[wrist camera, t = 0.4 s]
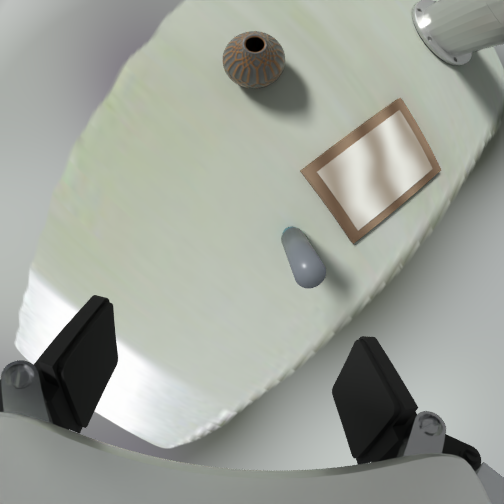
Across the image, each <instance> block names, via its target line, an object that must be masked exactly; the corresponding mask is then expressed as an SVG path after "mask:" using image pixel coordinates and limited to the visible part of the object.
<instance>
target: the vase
mask: <svg viewBox="0 0 504 504" xmlns="http://www.w3.org/2000/svg"><path fill="white" fill-rule="evenodd" d="M284 65H285V54H284V51H283V49H282V47H281V45H280V44H279V42H278V41H277V40H276V39H275V38H273V37H272V36H270V35H268V34H266V33H263V32H257V31H251V32H245V33H242V34H240V35H238V36H236V37H235V38H233V39H232V40H231V41H230V42H229V44H228V45H227V46H226V48H225V51H224V54H223V66H224V69H225V71H226V73H227V75H228V76H229V78H230V79H231V80H232V81H233V82H235V83H236V84H238V85H240V86H243V87H246V88H262V87H265V86H268V85H270V84H271V83H273V82H274V81H275V80H276V79H277V78H278V77H279V76H280V75H281V73H282V71H283V69H284Z"/></svg>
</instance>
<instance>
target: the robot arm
mask: <svg viewBox="0 0 504 504" xmlns="http://www.w3.org/2000/svg"><path fill="white" fill-rule="evenodd" d="M412 15H413V21H414V24H415V27H416V29H417V31H418V33H419V35H420V37H421V38H422V39H423V41H424V42H425V44H426V45H427V46H428V47H429V48H430V50H432V51H433V52H434V53H435V54H436V55H437V56H438V57H439V58H441V59H442V60H444V61H445V62H447V63H450V64H452V65H463V64H466V63H467V62H469V60H470V59H471V56H472V52H474V51H478V50H482V49H485V48H489V47H493V46H497V45H502V44H504V0H439V1H434V0H421V1H419V2H417V3H416V4H415V5H414V7H413V11H412ZM117 362H118V353H117V345H116V335H115V325H114V312H113V304H112V303H109V299H108V298H105V297H101V296H97V295H94V296H92V297H91V298H90V300H89V301H88V302H87V303H86V304H85V305H84V306H83V307H82V308H81V309H80V311H79V312H78V313H77V314H76V315H75V316H74V317H73V318H72V320H71V321H70V322H69V323H68V324H67V325H66V326H65V327H64V328H63V330H62V331H61V332H60V333H59V334H58V336H57V337H56V338H55V339H54V340H53V342H52V343H51V344H50V345H49V346H48V348H47V349H46V350H45V351H44V353H43V354H42V355H41V356H40V358H39V359H38V360H37V361H36V363H35V364H34V365H33V364H32V363H30V362H27V361H23V360H19V361H14V362H12V363H10V364H8V365H7V366H6V367H5V368H4V369H3V371H2V374H1V379H0V504H504V477H502V476H501V475H500V474H498V473H497V472H496V471H495V470H493V469H492V468H491V467H489V466H488V465H487V464H486V463H484V462H483V463H482V464H481V457H480V454H479V452H478V451H477V450H476V449H475V448H474V447H472V446H470V445H468V444H466V443H463V442H461V441H459V440H457V439H455V438H453V437H450V436H448V435H446V434H445V433H446V426H445V423H444V421H443V420H442V419H441V418H440V417H439V416H438V415H437V414H435V413H433V412H428V411H424V412H420V413H419V414H418V415H417V414H416V412H415V411H416V410H417V408H418V407H417V405H416V403H415V401H414V399H413V398H412V396H411V394H410V393H409V391H408V389H407V388H406V386H405V384H404V383H403V381H402V380H401V378H400V376H399V374H398V373H397V371H396V369H395V368H394V366H393V364H392V363H391V361H390V360H389V358H388V356H387V355H386V353H385V352H384V350H383V349H382V347H381V345H380V344H379V342H378V341H377V339H376V338H375V337H364V336H363V337H360V338H359V340H356V341H355V343H354V345H353V347H352V349H351V352H350V354H349V356H348V358H347V360H346V362H345V364H344V366H343V368H342V370H341V372H340V374H339V376H338V378H337V380H336V382H335V384H334V386H333V389H332V394H333V398H334V401H335V404H336V407H337V410H338V413H339V416H340V419H341V422H342V425H343V428H344V431H345V435H346V438H347V441H348V444H349V447H350V450H351V454H352V456H353V458H356V460H357V463H358V465H353V466H345V467H337V468H327V469H315V470H293V471H261V470H240V469H228V468H218V467H209V466H202V465H195V464H188V463H182V462H177V461H171V460H166V459H162V458H157V457H153V456H149V455H144V454H140V453H137V452H133V451H129V450H126V449H122V448H119V447H116V446H112V445H109V444H106V443H103V442H100V441H97V440H94V439H91V438H88V437H86V436H83V435H80V434H78V433H80V431H81V429H82V427H85V428H86V427H87V425H88V423H89V421H90V419H91V417H92V415H93V413H94V410H95V408H96V406H97V404H98V402H99V400H100V398H101V396H102V393H103V391H104V389H105V387H106V385H107V383H108V381H109V379H110V377H111V375H112V373H113V371H114V369H115V367H116V365H117ZM69 429H70V430H73V431H75V432H77V433H75V432H72V431H70V430H69ZM370 462H371V463H370ZM359 464H360V465H359Z"/></svg>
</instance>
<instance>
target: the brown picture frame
mask: <svg viewBox="0 0 504 504" xmlns="http://www.w3.org/2000/svg"><path fill="white" fill-rule="evenodd" d="M440 171H441V168H440V166H439V164H438V162H437V160H436V158H435V156H434V154H433V152H432V150H431V148H430V146H429V144H428V143H427V141H426V139H425V137H424V135H423V133H422V132H421V130H420V128H419V126H418V125H417V123H416V121H415V120H414V118H413V116H412V115H411V113H410V111H409V110H408V108H407V107H406V105H405V103H404V102H403V100H402V99H401V98H399V99H397V100H395V101H394V102H392V103H391V104H390V105H388V106H387V107H385V108H384V109H383V110H381V111H380V112H378V113H377V114H376V115H374V116H373V117H371V118H370V119H369V120H367V121H366V122H365V123H363V124H362V125H360V126H359V127H358V128H356V129H355V130H354V131H352V132H351V133H350V134H348V135H347V136H345V137H344V138H343V139H341V140H340V141H339V142H337V143H336V144H335V145H333V146H332V147H331V148H329V149H328V150H327V151H325V152H324V153H323V154H322V155H320V156H319V157H318V158H316V159H315V160H314V161H312V162H311V163H310V164H308V165H307V166H306V167H305V168H303V169H302V170H301V171H300V172H301V173H302V174H303V176H304V177H305V178H306V179H307V181H308V182H309V183H310V185H311V186H312V187H313V189H314V190H315V191H316V193H317V194H318V195H319V197H320V198H321V200H322V201H323V202H324V204H325V205H326V206H327V208H328V209H329V211H330V212H331V213H332V215H333V216H334V218H335V219H336V220H337V222H338V223H339V225H340V226H341V228H342V229H343V231H344V232H345V233H346V235H347V236H348V238H349V239H350V241H351V242H352V243H353V244H354V243H355V242H356V241H358V240H359V239H360V238H361V237H363V236H364V235H365V234H366V233H368V232H369V231H370V230H371V229H373V228H374V227H375V226H376V225H378V224H379V223H380V222H381V221H383V220H384V219H385V218H386V217H387V216H389V215H390V214H391V213H392V212H393V211H395V210H396V209H397V208H398V207H399V206H401V205H402V204H403V203H404V202H405V201H407V200H408V199H409V198H410V197H411V196H412V195H414V194H415V193H416V192H417V191H418V190H419V189H420V188H422V187H423V186H424V185H425V184H426V183H427V182H428V181H430V180H431V179H432V178H433V177H434V176H435V175H436V174H437V173H439V172H440Z"/></svg>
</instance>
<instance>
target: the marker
mask: <svg viewBox="0 0 504 504" xmlns="http://www.w3.org/2000/svg"><path fill="white" fill-rule="evenodd" d="M281 240H282V244H283V247H284V250H285V252H286V255H287V258H288V261H289V263H290V266H291V269H292V272H293V275H294V278H295V280H296V282H297V283H298V284H299V285H300V286H301V287H304V288H313V287H316V286H318V285H319V284H321V283H322V281H323V280H324V278H325V276H326V268H325V266H324V264H323V262H322V261H321V259H320V258H319V256H318V255H317V253H316V251H315V250H314V248H313V247H312V245H311V244H310V242H309V241H308V239H307V238H306V236H305V234H304V233H303V232H302V230H300V229H299V228H296V227H288V228H286V229H285V230H284V232H283V235H282V238H281Z"/></svg>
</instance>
